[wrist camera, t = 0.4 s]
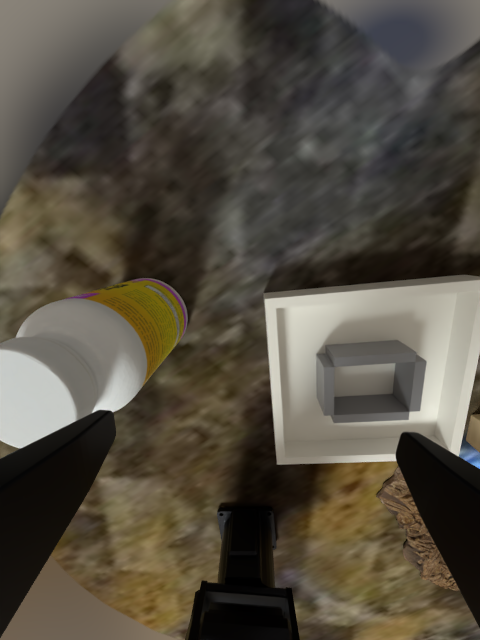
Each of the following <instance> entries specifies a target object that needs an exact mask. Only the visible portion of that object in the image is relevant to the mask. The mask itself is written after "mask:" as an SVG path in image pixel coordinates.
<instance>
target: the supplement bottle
mask: <svg viewBox="0 0 480 640" xmlns="http://www.w3.org/2000/svg"><path fill="white" fill-rule="evenodd" d="M187 322H188V315H187V309H186V306H185V304H184V301H183V300H182V298H181V296H180V295H179V294H178V293H177V292H176V291H175V290H174V289H173V288H172V287H171V286H169V285H168V284H166V283H164V282H162V281H160V280H156V279H152V278H140V279H135V280H131V281H127V282H124V283H120V284H117V285H113V286H110V287H106V288H102V289H99V290H95V291H92V292H89V293H85V294H81V295H78V296H74V297H71V298H67V299H63V300H60V301H56V302H53V303H50V304H48V305H45V306H43V307H41V308H39V309H38V310H36V311H35V312H34V313H32V314H31V315H30V316H29V317H28V318H27V319H26V320H25V321H24V323H23V324H22V326H21V327H20V329H19V331H18V333H17V336H16V338H13V339H10V340H7V341H5V342H2V343H0V440H1V441H3V442H5V443H7V444H9V445H11V446H14V447H17V448H23V447H25V446H27V445H29V444H31V443H33V442H35V441H37V440H39V439H41V438H43V437H45V436H47V435H49V434H51V433H53V432H55V431H57V430H59V429H61V428H63V427H65V426H67V425H69V424H71V423H73V422H75V421H77V420H79V419H81V418H83V417H85V416H87V415H89V414H91V413H93V412H95V411H97V410H110V411H112V412H115V411H117V410H119V409H120V408H122V407H123V406H125V405H126V404H127V403H128V402H130V401H131V400H132V399H133V398H134V396H135V395H136V394H137V393H138V391H139V390H140V389H141V388H142V386H143V385H144V384H145V383H146V381H147V380H148V379H149V378H150V376H151V375H152V374H153V373H154V371H155V370H156V369H157V368H158V366H159V365H160V364H161V363H162V361H163V360H164V359H165V358H166V357H167V355H168V354H169V353H170V352H171V351H172V349H173V348H174V347H175V346H176V344H177V343H178V342H179V341H180V339H181V338H182V336H183V335H184V333H185V331H186V328H187Z"/></svg>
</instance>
